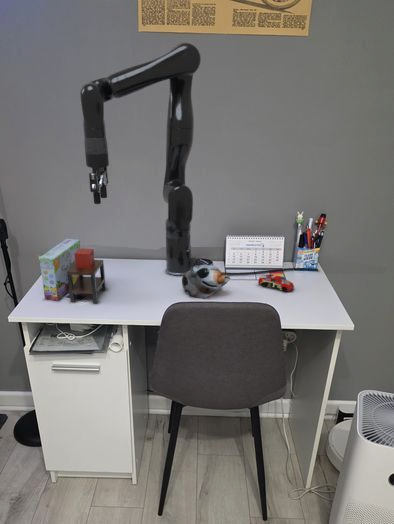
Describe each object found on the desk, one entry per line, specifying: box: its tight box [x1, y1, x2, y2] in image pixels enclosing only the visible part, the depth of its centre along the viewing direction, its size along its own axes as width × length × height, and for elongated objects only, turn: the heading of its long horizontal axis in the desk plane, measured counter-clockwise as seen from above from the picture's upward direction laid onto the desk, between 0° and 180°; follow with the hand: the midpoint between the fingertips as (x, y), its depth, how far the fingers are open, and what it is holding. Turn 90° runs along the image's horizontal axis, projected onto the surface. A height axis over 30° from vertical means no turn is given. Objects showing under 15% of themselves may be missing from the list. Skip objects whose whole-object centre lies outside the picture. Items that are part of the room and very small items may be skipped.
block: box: [74, 247, 96, 269], centre depth 163 cm, size 5×5×5 cm
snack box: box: [39, 238, 81, 302], centre depth 171 cm, size 21×6×15 cm, turn 168°
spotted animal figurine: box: [181, 263, 231, 299], centre depth 169 cm, size 15×12×14 cm
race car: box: [257, 274, 295, 293], centre depth 177 cm, size 13×5×4 cm, turn 57°
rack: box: [67, 259, 107, 304], centre depth 167 cm, size 9×12×11 cm
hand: (100, 200), depth 170 cm, fingers open, 8 cm apart
